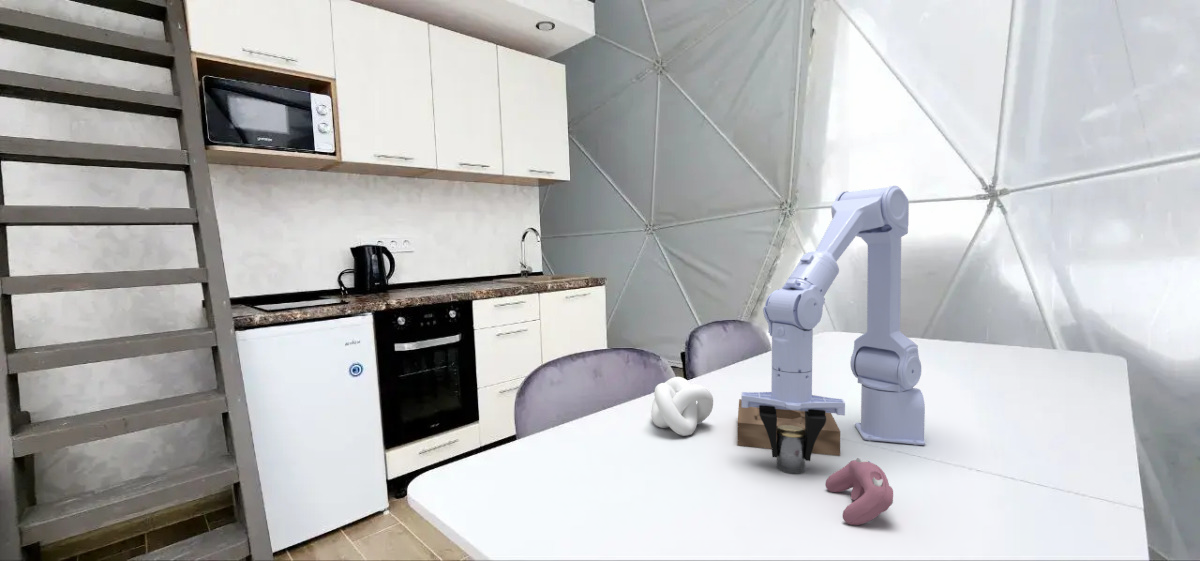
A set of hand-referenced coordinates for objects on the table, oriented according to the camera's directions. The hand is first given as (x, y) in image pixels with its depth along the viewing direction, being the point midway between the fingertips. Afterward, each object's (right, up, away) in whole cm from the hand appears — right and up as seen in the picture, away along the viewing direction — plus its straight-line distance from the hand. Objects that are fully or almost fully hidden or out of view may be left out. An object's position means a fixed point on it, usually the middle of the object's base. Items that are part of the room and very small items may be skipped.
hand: (790, 456), depth 75 cm
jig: (+4, -1, +14) cm, 14 cm away
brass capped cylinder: (0, -2, 0) cm, 2 cm away
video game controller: (+4, -3, -12) cm, 13 cm away
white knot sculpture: (-13, -1, +18) cm, 22 cm away
